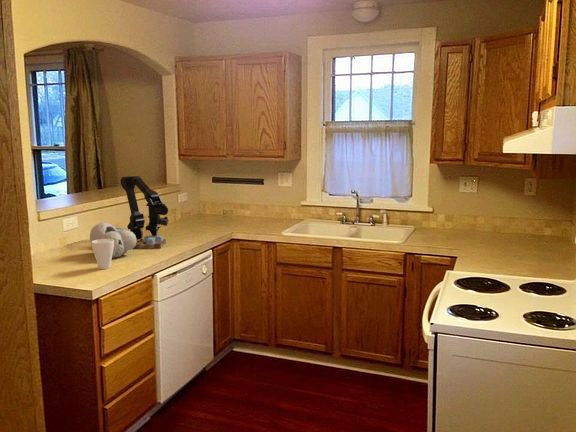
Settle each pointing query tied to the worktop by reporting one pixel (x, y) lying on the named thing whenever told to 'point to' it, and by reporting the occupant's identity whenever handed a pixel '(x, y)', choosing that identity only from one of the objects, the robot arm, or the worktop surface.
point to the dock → (149, 245)
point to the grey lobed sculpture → (114, 238)
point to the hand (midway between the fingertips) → (155, 239)
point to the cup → (103, 252)
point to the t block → (152, 239)
